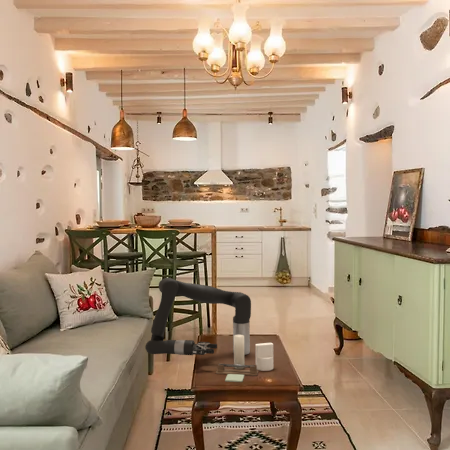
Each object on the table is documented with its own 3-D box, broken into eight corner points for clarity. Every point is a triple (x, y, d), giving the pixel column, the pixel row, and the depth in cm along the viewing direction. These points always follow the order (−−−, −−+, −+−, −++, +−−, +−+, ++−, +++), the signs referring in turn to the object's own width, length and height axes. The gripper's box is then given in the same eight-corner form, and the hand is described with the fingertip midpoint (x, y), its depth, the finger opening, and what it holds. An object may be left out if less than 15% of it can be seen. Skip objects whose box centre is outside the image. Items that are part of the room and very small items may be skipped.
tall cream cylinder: (234, 365, 235) (234, 334, 235) (245, 365, 234) (244, 334, 234) (233, 368, 230) (233, 337, 230) (243, 369, 229) (243, 337, 229)
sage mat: (227, 375, 222) (227, 373, 222) (244, 375, 220) (244, 374, 220) (225, 381, 214) (225, 379, 214) (242, 382, 212) (242, 380, 212)
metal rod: (218, 365, 226) (218, 363, 226) (254, 367, 224) (254, 365, 223) (218, 366, 225) (218, 364, 225) (254, 368, 222) (254, 365, 222)
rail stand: (217, 370, 229) (217, 362, 228) (258, 372, 225) (257, 364, 225) (216, 373, 224) (215, 365, 223) (257, 375, 220) (256, 367, 220)
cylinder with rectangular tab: (259, 371, 226) (258, 347, 226) (253, 365, 235) (252, 342, 234) (276, 369, 228) (276, 345, 228) (269, 364, 237) (269, 340, 237)
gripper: (180, 344, 230) (212, 345, 227) (187, 336, 244) (218, 337, 241) (181, 359, 230) (213, 360, 227) (188, 350, 244) (218, 351, 241)
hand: (215, 348), depth 234 cm, fingers open, 8 cm apart
